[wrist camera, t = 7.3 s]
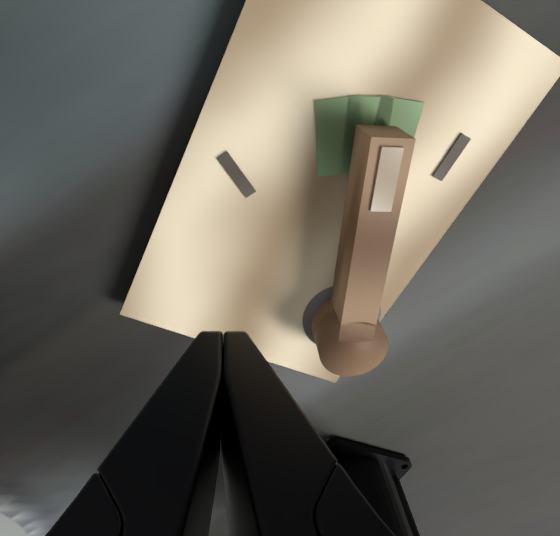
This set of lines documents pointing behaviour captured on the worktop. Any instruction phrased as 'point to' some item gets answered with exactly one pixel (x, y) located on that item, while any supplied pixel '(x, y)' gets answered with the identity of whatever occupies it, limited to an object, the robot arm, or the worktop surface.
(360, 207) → the walnut lever
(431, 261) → the worktop surface
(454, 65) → the dial plate
